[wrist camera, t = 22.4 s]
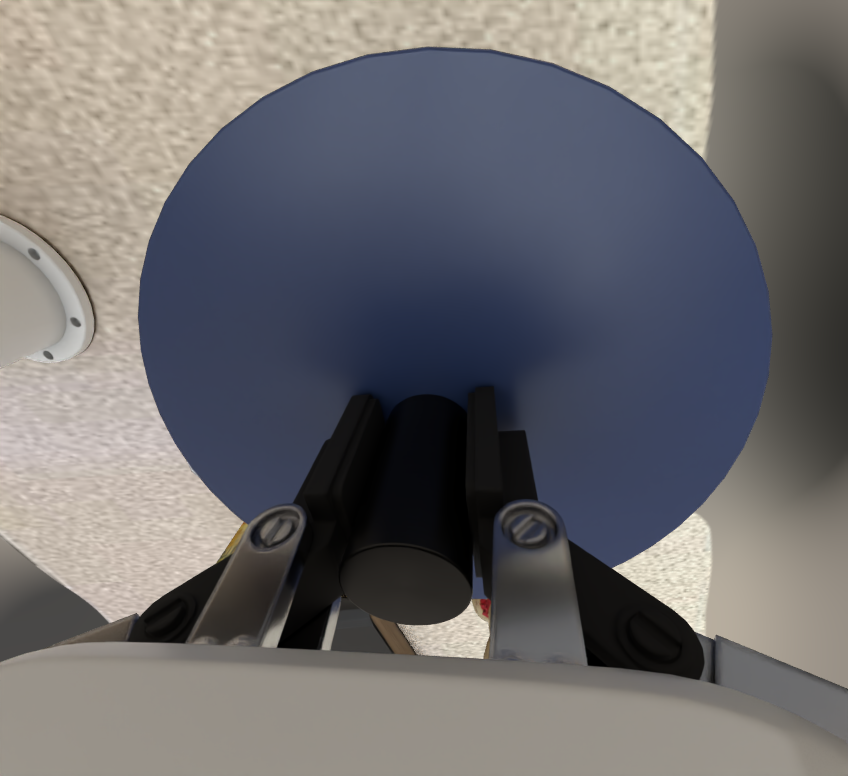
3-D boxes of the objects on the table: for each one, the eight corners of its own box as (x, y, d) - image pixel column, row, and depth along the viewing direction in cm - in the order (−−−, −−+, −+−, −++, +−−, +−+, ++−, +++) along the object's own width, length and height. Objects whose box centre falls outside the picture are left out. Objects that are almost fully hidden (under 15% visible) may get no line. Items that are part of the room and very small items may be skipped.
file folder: (247, 713, 66) (157, 635, 55) (259, 685, 69) (176, 606, 58) (430, 711, 57) (365, 618, 46) (433, 679, 60) (373, 585, 50)
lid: (160, 487, 16) (10, 647, 11) (178, -120, 7) (-638, -873, 2) (534, 616, 18) (559, 806, 13) (924, 264, 9) (1553, 418, 4)
